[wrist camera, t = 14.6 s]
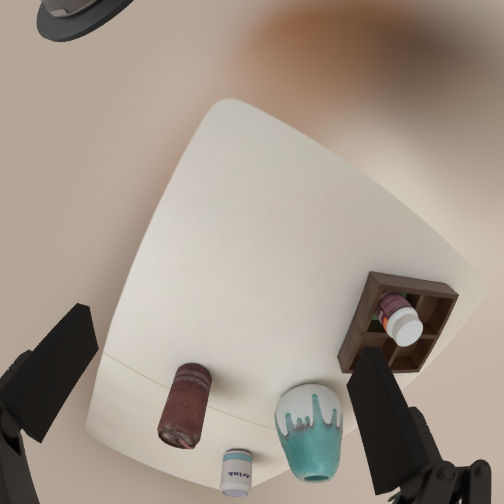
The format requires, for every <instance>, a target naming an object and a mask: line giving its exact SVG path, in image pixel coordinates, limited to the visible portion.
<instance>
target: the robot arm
mask: <svg viewBox="0 0 504 504" xmlns="http://www.w3.org/2000/svg"><path fill="white" fill-rule="evenodd" d="M41 1H42V2H43V4H44V5H45V6H46V9H47V11H48V12H49V13H50V14H51V15H53V16H54V17H57V18H60V19H67V18H72V17H75V16H77V15H80V14H82V13H84V12H86V11H87V10H89V9H91V8H92V7H94V6H95V5H97V4H98V3H99V2H101V1H102V0H41ZM97 351H98V344H97V340H96V336H95V331H94V327H93V322H92V317H91V312H90V308H89V306H86V305H82V304H79V303H77V304H76V305H75V306H74V307H73V308H72V309H71V310H70V311H69V312H68V313H67V314H66V315H65V316H64V317H63V318H62V320H60V321H59V323H58V324H57V325H56V326H55V327H54V328H53V329H52V330H51V331H50V332H49V333H48V334H47V336H46V337H45V338H44V339H43V340H42V341H41V342H40V343H39V345H38V346H37V347H36V348H35V349H34V350H33V351H31V350H27V351H26V352H24V353H22V354H21V355H19V357H18V358H17V359H16V360H15V361H14V364H12V365H11V366H10V367H9V370H7V371H6V372H5V373H4V374H3V376H2V377H1V378H0V504H40V503H39V500H38V497H37V494H36V491H35V488H34V485H33V482H32V478H31V474H30V471H29V467H28V463H27V458H26V454H25V449H24V444H23V439H22V435H21V433H20V431H21V429H23V430H24V431H25V432H26V434H27V435H28V436H30V437H31V438H33V439H34V440H36V441H37V442H39V443H42V441H43V439H44V437H45V435H46V433H47V432H48V430H49V428H50V426H51V425H52V423H53V421H54V419H55V418H56V416H57V414H58V412H59V411H60V409H61V407H62V406H63V404H64V402H65V401H66V399H67V397H68V396H69V394H70V393H71V391H72V389H73V388H74V386H75V385H76V383H77V381H78V380H79V378H80V377H81V375H82V374H83V372H84V371H85V369H86V367H87V366H88V364H89V363H90V361H91V360H92V358H93V357H94V355H95V354H96V352H97ZM346 386H347V389H348V392H349V396H350V399H351V403H352V406H353V409H354V413H355V416H356V420H357V424H358V427H359V430H360V434H361V438H362V442H363V446H364V450H365V453H366V457H367V461H368V465H369V469H370V473H371V477H372V482H373V486H374V490H375V495H380V494H384V493H388V492H391V491H393V490H394V489H396V488H397V487H399V486H400V490H401V491H399V492H398V493H397V494H395V495H393V496H392V497H390V499H389V500H388V501H389V502H390V501H392V500H393V499H395V500H394V502H393V503H392V504H459V500H461V499H462V501H461V504H491V468H490V465H489V464H488V462H486V461H485V460H477V461H475V462H474V463H473V464H471V465H470V466H465V467H455V466H454V465H453V464H452V463H451V462H449V461H443V459H442V458H441V455H440V453H439V451H438V448H437V446H436V444H435V441H434V439H433V437H432V434H431V433H430V430H429V427H428V425H426V424H427V423H426V421H425V419H424V416H423V414H422V413H421V412H420V411H419V410H418V409H417V408H416V407H415V406H414V407H408V405H407V403H406V401H405V399H404V397H403V394H402V392H401V390H400V388H399V386H398V384H397V382H396V379H395V377H394V375H393V373H392V371H391V369H390V367H389V365H388V363H387V361H386V359H385V357H384V355H383V353H382V351H381V349H380V347H365V349H364V351H363V354H362V356H361V358H360V360H359V362H358V364H357V366H356V368H355V370H354V372H353V374H352V376H351V378H350V380H349V381H348V383H347V385H346Z"/></svg>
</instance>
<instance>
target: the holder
mask: <svg viewBox="0 0 504 504" xmlns="http://www.w3.org/2000/svg"><path fill="white" fill-rule="evenodd" d="M383 290H387V291H394V292H400V293H401V294H402V295H403V297H404V298H405V299H406V300H407V301H408V302H409V304H410V305H411V306H412V307H413V308H414V309H415V311H416V312H417V315H418V319H419V320H420V321H421V323H422V325H423V331H422V333H421V335H420V337H419V338H418V339H417V340H416V341H415V342H414V343H412V344H411V345H408V346H399V345H398V344H397V343H396V342H395V340H394V339H393V338H392V337H390V336H389V335H388V334H387V332H386V331H385V329H384V327H383V326H382V324H381V323H380V321H379V319H378V318H377V316H376V314H375V310H376V308H377V305H378V303H379V300H380V298H381V295H382V292H383ZM458 297H459V294H458V293H456V292H455V291H454V290H453V289H452V288H451V287H450V286H448V285H447V284H445V283H439V282H433V281H427V280H421V279H414V278H408V277H402V276H396V275H390V274H384V273H378V272H371V271H370V272H369V275H368V278H367V281H366V284H365V287H364V290H363V293H362V295H361V298H360V301H359V304H358V306H357V309H356V312H355V314H354V317H353V320H352V322H351V325H350V327H349V330H348V332H347V334H346V337H345V339H344V342H343V344H342V346H341V349H340V351H339V353H338V356H337V359H338V361H339V364H340V368H341V371H342V373H351V374H353V372H354V370H355V368H356V366H357V364H358V362H359V360H360V358H361V356H362V354H363V351H364V349H365V347H380V349H381V351H382V353H383V355H384V357H385V359H386V361H387V363H388V365H389V367H390V369H391V371H392V373H413V372H419V371H420V369H421V368H422V366H423V364H424V363H425V361H426V359H427V358H428V356H429V354H430V353H431V351H432V349H433V347H434V345H435V344H436V342H437V340H438V338H439V336H440V334H441V332H442V330H443V328H444V326H445V324H446V322H447V320H448V318H449V316H450V314H451V312H452V310H453V308H454V305H455V303H456V301H457V299H458Z"/></svg>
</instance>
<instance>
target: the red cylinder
mask: <svg viewBox="0 0 504 504" xmlns="http://www.w3.org/2000/svg"><path fill="white" fill-rule="evenodd" d="M211 382H212V378H211V376H210V374H209V372H208V371H207V370H206V369H205V368H203V367H202V366H200V365H197V364H185V365H183V366H181V367H179V368H178V370H177V372H176V375H175V378H174V381H173V384H172V387H171V390H170V392H169V395H168V398H167V401H166V404H165V407H164V410H163V413H162V416H161V419H160V422H159V425H158V428H157V430H158V436H159V438H160V439H161V440H162V441H163V442H165V443H166V444H168V445H170V446H173V447H176V448H181V449H194V448H195V446H196V444H198V442H199V441H200V437H201V432H202V427H203V422H204V417H205V411H206V406H207V401H208V396H209V391H210V386H211Z"/></svg>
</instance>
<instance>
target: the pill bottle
mask: <svg viewBox="0 0 504 504" xmlns="http://www.w3.org/2000/svg"><path fill="white" fill-rule="evenodd" d="M375 314H376V316H377V318H378V319H379V321H380V323H381V324H382V326H383V327H384V329H385V331H386V332H387V334H388V335H389V336H390V337H392V338H393V339H394V340H395V342H396V343H397V344H398V345H399V346H408V345H411V344H412V343H414V342H415V341H416V340H417V339H418V338H419V337H420V335H421V333H422V331H423V325H422V323H421V321H420V320H419V319H418V315H417V312H416V311H415V309H414V308H413V307H412V306H411V305H410V304H409V302H408V301H407V300H406V299H405V298H404V297H403V295H402V294H401V293H400V292H394V291H387V290H383V292H382V295H381V298H380V300H379V303H378V305H377V308H376V310H375Z"/></svg>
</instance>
